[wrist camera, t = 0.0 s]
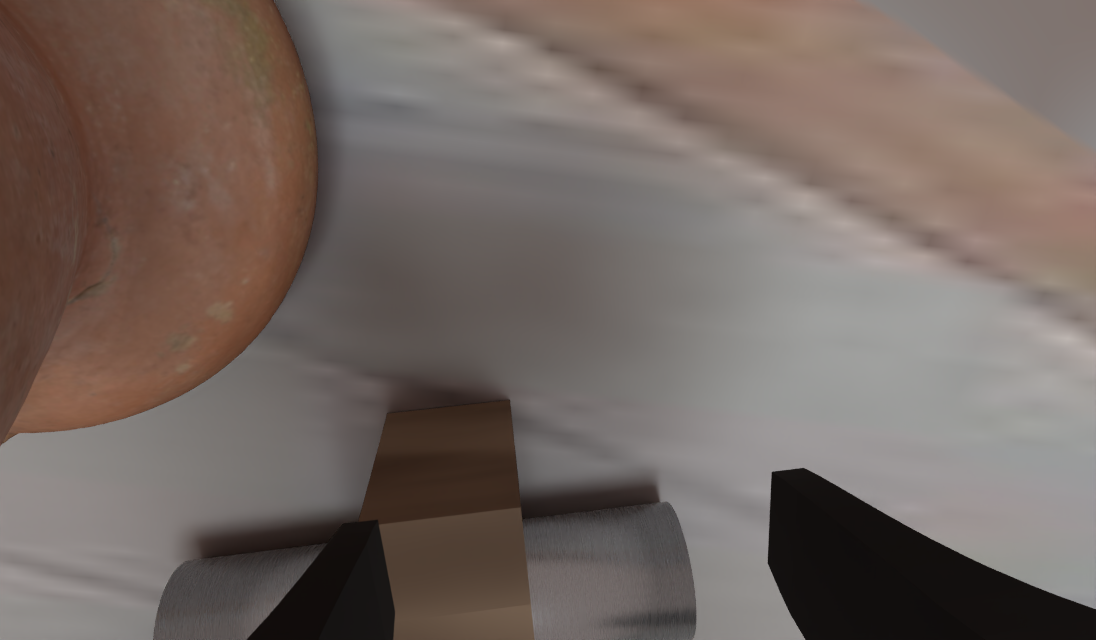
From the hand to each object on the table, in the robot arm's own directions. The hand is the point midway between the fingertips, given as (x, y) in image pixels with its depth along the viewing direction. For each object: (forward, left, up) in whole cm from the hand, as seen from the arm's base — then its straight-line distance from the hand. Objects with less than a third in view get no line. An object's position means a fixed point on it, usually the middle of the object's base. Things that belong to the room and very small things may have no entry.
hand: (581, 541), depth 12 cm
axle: (-8, +4, -8) cm, 12 cm away
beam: (-11, +3, -10) cm, 15 cm away
